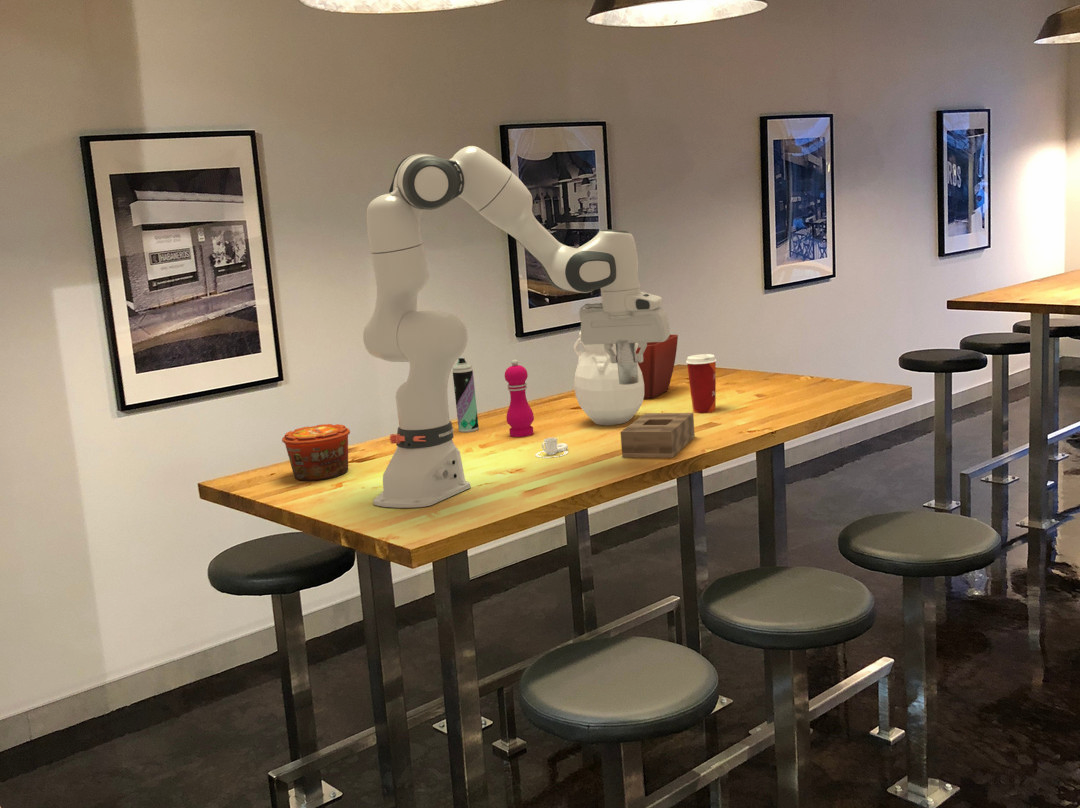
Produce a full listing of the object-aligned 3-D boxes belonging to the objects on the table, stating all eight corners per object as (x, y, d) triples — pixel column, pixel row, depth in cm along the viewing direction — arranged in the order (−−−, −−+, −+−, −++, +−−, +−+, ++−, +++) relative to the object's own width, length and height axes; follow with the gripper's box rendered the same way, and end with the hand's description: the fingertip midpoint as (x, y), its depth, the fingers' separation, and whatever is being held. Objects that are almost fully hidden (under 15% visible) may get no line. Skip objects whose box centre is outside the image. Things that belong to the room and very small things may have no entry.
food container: (274, 478, 254) (268, 435, 252) (328, 462, 265) (323, 421, 263) (313, 486, 243) (307, 441, 241) (368, 469, 255) (362, 426, 253)
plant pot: (657, 402, 304) (653, 344, 301) (598, 401, 314) (593, 344, 310) (682, 389, 320) (679, 334, 317) (625, 388, 330) (621, 335, 326)
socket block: (672, 457, 239) (671, 432, 238) (622, 457, 244) (620, 431, 243) (694, 436, 257) (693, 412, 256) (647, 436, 262) (645, 413, 261)
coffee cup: (725, 410, 284) (722, 355, 281) (698, 415, 281) (695, 359, 278) (709, 406, 292) (706, 352, 289) (683, 410, 289) (679, 356, 286)
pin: (635, 384, 237) (631, 340, 235) (616, 384, 239) (612, 341, 237) (641, 380, 241) (637, 337, 239) (622, 380, 243) (618, 337, 240)
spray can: (455, 432, 288) (447, 359, 284) (465, 427, 293) (458, 356, 289) (472, 432, 285) (464, 359, 282) (482, 428, 290) (475, 356, 286)
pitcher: (569, 430, 277) (561, 336, 273) (587, 415, 295) (579, 326, 290) (639, 428, 272) (632, 332, 267) (652, 413, 289) (646, 322, 284)
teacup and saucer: (563, 449, 259) (562, 433, 258) (576, 455, 252) (575, 438, 251) (530, 455, 256) (529, 438, 255) (542, 461, 249) (540, 444, 248)
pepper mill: (532, 437, 273) (525, 360, 269) (505, 438, 275) (497, 362, 271) (537, 430, 280) (531, 356, 276) (511, 432, 282) (504, 358, 278)
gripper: (573, 306, 237) (579, 366, 240) (661, 301, 229) (666, 364, 232) (583, 302, 243) (589, 361, 246) (669, 297, 235) (674, 358, 238)
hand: (627, 362), depth 239 cm, fingers closed on pin, 4 cm apart
